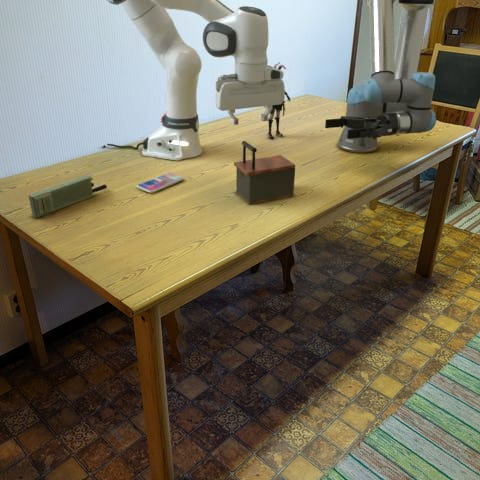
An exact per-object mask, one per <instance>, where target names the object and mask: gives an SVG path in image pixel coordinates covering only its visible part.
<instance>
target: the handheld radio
mask: <svg viewBox="0 0 480 480" xmlns="http://www.w3.org/2000/svg"><path fill="white" fill-rule="evenodd" d="M92 176H93V174H91V173H88V174H85V175H83V176H79V177H76V178H74V179H71V180H68V181H65V182H62V183H59V184H57V185H54V186H50V187H47V188H44V189H42V190H39V191H37V192H33V193H30V194H28V200H29V206H30V210H31V216H32V217H34V218H35V219H36V218H39V217H42V216H45V215H47V214H50V213H53V212H56V211H58V210H60V209H63V208H66V207H68V206H72V205H73V204H76V203H80V202H82V201H84V200H87V199H90V198H93V196H95V195H96V194H95V193H97V192H100V191H102V190H106V189H107V188H108V186H107V184H102V185H99V186H96V187H94V186H95V183H94V182H92V181H93V180H94V178H93V177H92ZM93 187H94V188H93Z"/></svg>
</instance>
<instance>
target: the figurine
mask: <svg viewBox="0 0 480 480" xmlns="http://www.w3.org/2000/svg"><path fill="white" fill-rule="evenodd" d="M277 66H278V67H277ZM273 68H276V69H279V70H281V71H282V68H283V70H286V69H287V67H286V66H285V65H284V64H281V61H279V62H278V63H276V64H274V65H273ZM285 96H286V98H287V100H284V101H283V103H282V104H279V105H272V110H271V112H270V114H269V116H268V121H267V122H268V134H267V137H268V139H270V140H274V139H275V136H278V137H280V138H282V137H283V136H284V134H283V133H281V132H280V120H281V117H280V116H281V112H282V117H284V116H285V112H286V106H285V105H286V104H285V103H286V101H287V102H288V103H291V98H290V96H289V95H288V92H287V91H285ZM263 108H264V109H266V108H265V106H263ZM274 121H275V124H276V130H275V136H274V135H273V134H272V128H273V127H272V126H273V123H274Z"/></svg>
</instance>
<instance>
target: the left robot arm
mask: <svg viewBox="0 0 480 480" xmlns="http://www.w3.org/2000/svg"><path fill="white" fill-rule="evenodd" d="M106 1H107V2H108V3H110V4H112V5H116V6H118V5H121V6H122V7H123V9H124V11H125V13H126V14H127V15H128V17H129V19H130V20H131V22H132V23H133V25H134V26H135V27H136V29H137V30H138V32H139V33H140V34H141V36H142V37H143V38H144V40H145V41H146V43H147V45H148V46H149V48H150V50H151V51H152V53H153V54H154V56H155V57H156V59H157V60H158V62H159V63H160V65H161V66H162V68H163V69H164V70H166V72H167V82H166V90H165V92H164V93H165V95H164V97H165V113H163V114H162V116H161V118H160V123H161V125H159V127H157V128H156V129H155V130H154V131H152V132H151V133H150V135H149V136H148V137H146V138H145V139H144V140H143V141H142V142H139V143H138V144H137V145H136V147H135V146H133V145H118V144H114V143H106V144H107V145H108V146H105V145H106V144H104V145H103V146H102V147H101V149H105V148H106V147H114V148H119V149H128V148H131V149H133V150H138V149H139V147H140V146H142V145H143V148H142V150H141V155H142V156H145V157H152V158H157V159H164V160H170V161H176V162H178V161H182V160H185V159H190V158H191V159H192V158H196V157H198V156H200V155H202V153H203V149H202V148H203V147H202V145H201V142H200V134H199V128H200V121H199V114H198V103H197V102H198V101H197V100H198V99H197V94H198V93H197V91H198V83H199V78H200V77H199V76H200V73H201V70H202V66H203V65H202V59H201V56H200V55H199V54H198V52H197V50H196V49H195V48H193V47H192V46H189V45H188V44H187V43H186V42H185V40H183V38H182V36H181V34H180V32H179V31H178V29H177V27H176V25H175V23H174V20H173V19H172V17H171V15H170V14H169V12H168V11H167V10H176V11H177V10H179V11H186V12H190V13H193V14H196V15H198V16H200V17H201V18H202V19H204V20H205V21H206V22H208V23H207V24H206V26H205V27H204V29H203V33H202V43H203V47H204V49H205V51H206V52H207V53H208V54H209V55H210V56H212V57H213V58H221V59H222V58H227V57H233V58H234V73H231V74H221V75H220V76H219V77H218V78H217V79H216V80H215V90H216V91H215V102H214V105H215V107H216V109H218V110H220V111H221V112H224V111H227V114H228V115H229V116H230V119H231V120H230V123H231V125H232V126H239V124H240V123H239V121H240V120H239V118H238V117H236V116H235V114H236V110H242V109H251V108H252V109H253V108H259V107H260V108H261V107H264V106H265V108H264V109H265V110H264V111H263V113H261V114H260V120H261V121H262V122H269V121H268V118H269V116H270V112H271V110H272V105H279V104H282V103H283V101H285V96H286V95H285V92H286V89H285V82H284V80H283V78H284V75H285V73H284V71H283V70H282V69H281V70H279V69H278V68H277V67H276V68H274V66H272V65H268V64H269V63H268V54H267V51H268V47H269V21H268V16H267V14H266V12H265V11H264V10H262V8H258V7H254V6H247V5H246V6H245V5H244V6H243V5H242V6H239V7H238V8H237V9H236V10H235V11H233V10H232V9H230V8H229V7H228V6H227V5H225V4H224V3H222V2H221V1H220V0H106Z"/></svg>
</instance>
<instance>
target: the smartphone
mask: <svg viewBox="0 0 480 480" xmlns="http://www.w3.org/2000/svg"><path fill="white" fill-rule="evenodd" d="M182 181H184V177H183V176H180V175H179V174H174V173H172V172H166V173H163V174H161V175H159V176H156V177H154V178H151V179H149V180H146V181H143V182H141V183H138V184H137V185H136V188H137V189H139V190H141V191H143V192H145V193H148V194H154V193H156V192H158V191H160V190H161V191H162V190H164V189H166V188H168V187H170V186H172V185H175V184H177V183H180V182H182Z"/></svg>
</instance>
